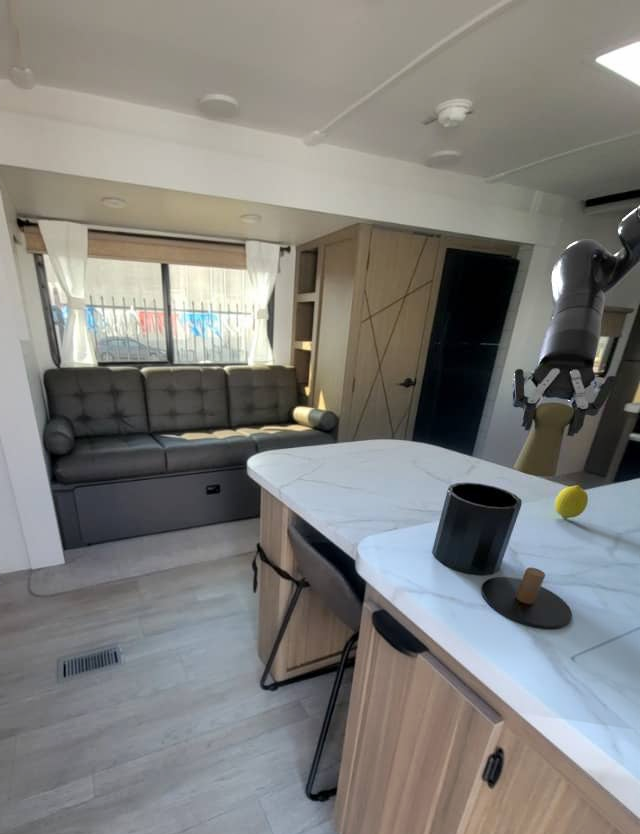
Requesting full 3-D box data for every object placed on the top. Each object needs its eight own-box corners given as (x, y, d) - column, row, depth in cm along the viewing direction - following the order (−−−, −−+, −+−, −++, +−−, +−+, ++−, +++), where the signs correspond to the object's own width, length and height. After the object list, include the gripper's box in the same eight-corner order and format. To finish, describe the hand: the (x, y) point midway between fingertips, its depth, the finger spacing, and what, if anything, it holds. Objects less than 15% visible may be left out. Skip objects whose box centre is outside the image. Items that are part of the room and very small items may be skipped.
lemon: (546, 517, 91) (558, 484, 87) (554, 511, 94) (566, 479, 90) (575, 526, 87) (589, 492, 83) (582, 519, 90) (596, 486, 87)
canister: (485, 548, 78) (505, 485, 72) (508, 581, 68) (534, 511, 62) (425, 542, 79) (441, 480, 73) (440, 574, 69) (458, 505, 64)
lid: (545, 587, 67) (558, 555, 64) (586, 637, 56) (604, 601, 53) (469, 579, 68) (479, 547, 65) (496, 626, 58) (509, 591, 55)
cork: (505, 466, 69) (526, 401, 64) (527, 462, 72) (548, 398, 67) (541, 478, 64) (566, 408, 59) (563, 473, 67) (589, 405, 62)
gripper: (524, 325, 67) (501, 410, 63) (635, 329, 61) (617, 423, 57) (515, 357, 74) (493, 436, 70) (613, 363, 67) (596, 450, 63)
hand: (549, 430), depth 63 cm, fingers closed on cork, 5 cm apart
